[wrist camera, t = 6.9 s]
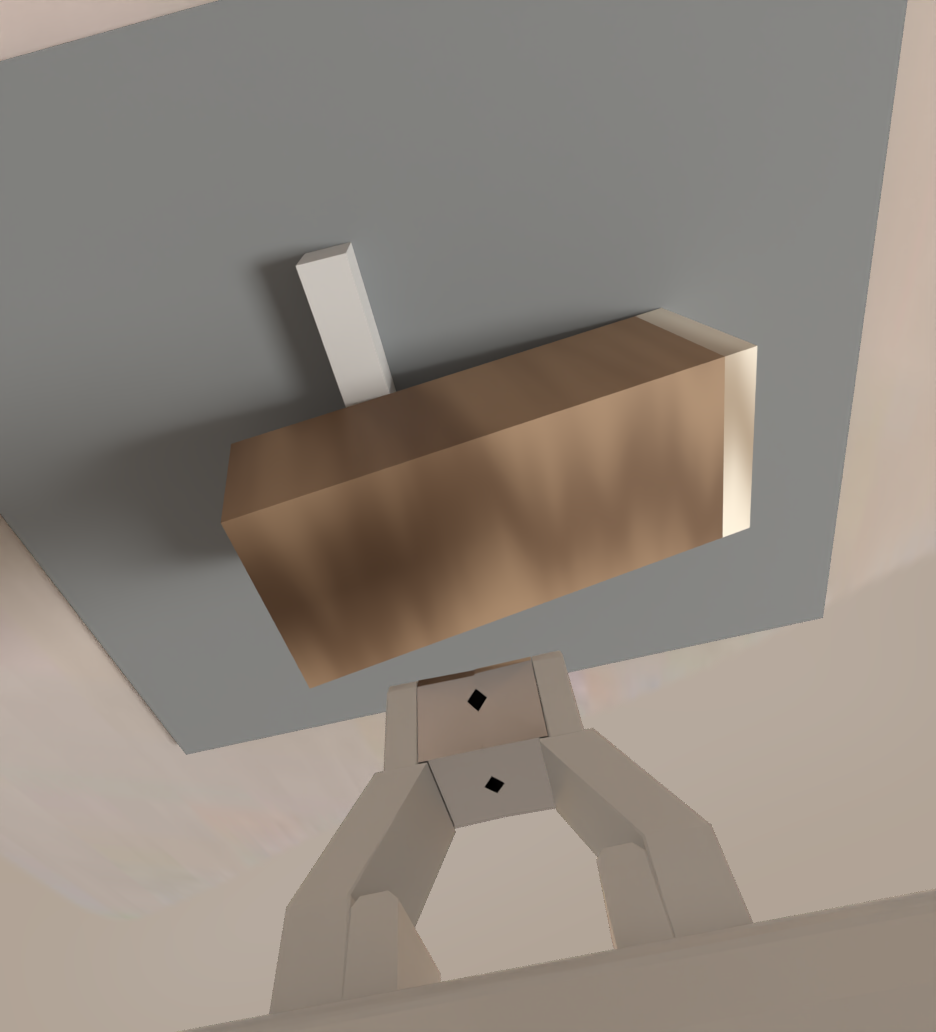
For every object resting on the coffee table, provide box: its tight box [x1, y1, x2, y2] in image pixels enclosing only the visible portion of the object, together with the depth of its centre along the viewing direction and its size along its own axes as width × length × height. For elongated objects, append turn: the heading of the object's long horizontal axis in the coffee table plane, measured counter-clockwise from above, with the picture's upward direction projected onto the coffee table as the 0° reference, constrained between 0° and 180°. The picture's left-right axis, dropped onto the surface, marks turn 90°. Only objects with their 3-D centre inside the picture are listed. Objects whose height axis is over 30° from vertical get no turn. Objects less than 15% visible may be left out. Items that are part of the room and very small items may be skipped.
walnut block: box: [221, 308, 757, 688], centre depth 16 cm, size 5×4×12 cm
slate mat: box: [0, 0, 907, 755], centre depth 18 cm, size 22×26×2 cm
